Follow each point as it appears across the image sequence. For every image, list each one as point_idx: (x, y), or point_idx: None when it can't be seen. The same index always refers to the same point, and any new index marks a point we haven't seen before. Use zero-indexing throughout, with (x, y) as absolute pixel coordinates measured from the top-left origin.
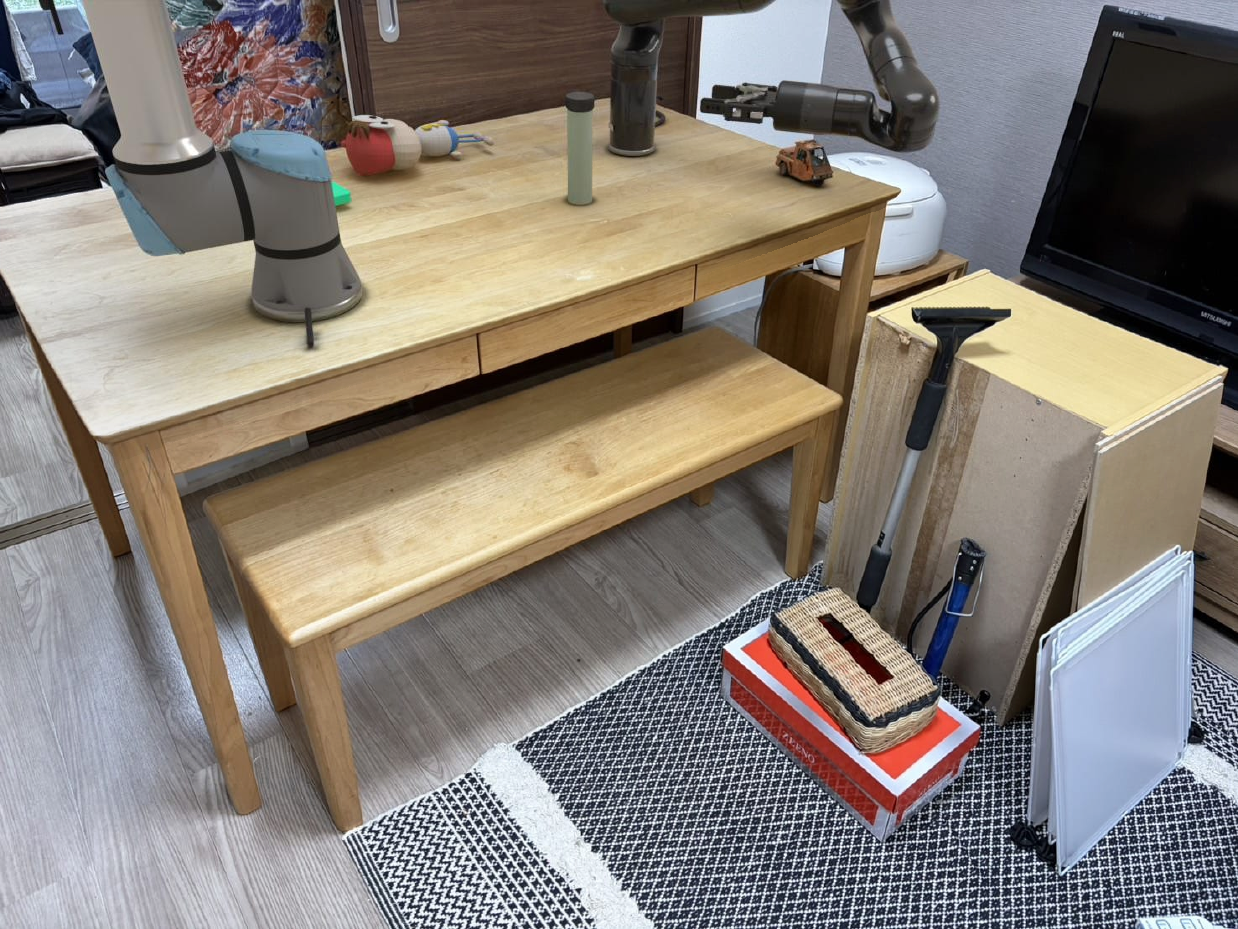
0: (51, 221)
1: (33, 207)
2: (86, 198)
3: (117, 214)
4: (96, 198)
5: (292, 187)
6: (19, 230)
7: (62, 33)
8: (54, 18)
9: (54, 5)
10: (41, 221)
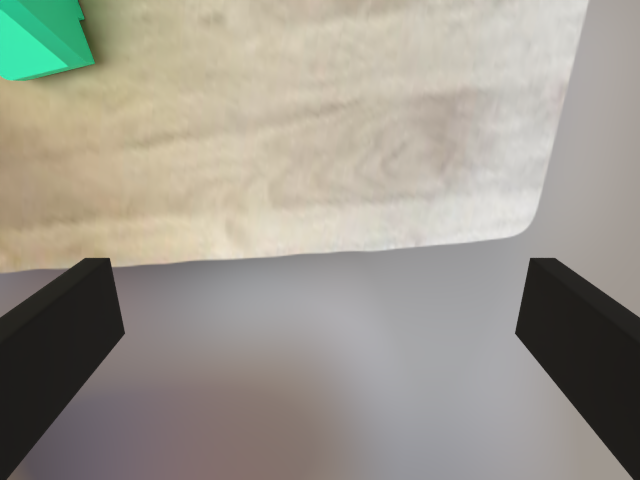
0: (493, 139)
1: (502, 218)
2: (422, 223)
3: (391, 122)
4: (407, 216)
5: None
6: (547, 120)
7: (537, 258)
8: (600, 291)
9: (629, 333)
10: (507, 147)
